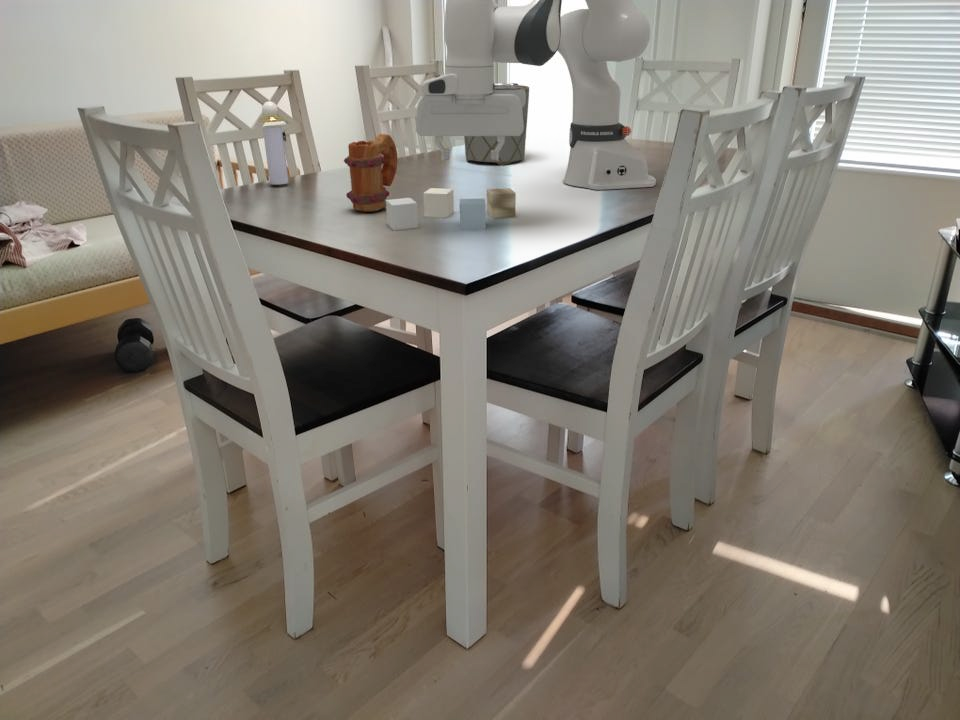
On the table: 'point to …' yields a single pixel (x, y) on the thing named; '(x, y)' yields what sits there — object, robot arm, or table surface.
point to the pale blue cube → (472, 214)
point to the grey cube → (402, 213)
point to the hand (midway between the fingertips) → (470, 160)
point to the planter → (511, 149)
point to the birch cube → (501, 202)
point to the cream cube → (438, 202)
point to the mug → (371, 172)
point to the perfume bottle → (274, 145)
